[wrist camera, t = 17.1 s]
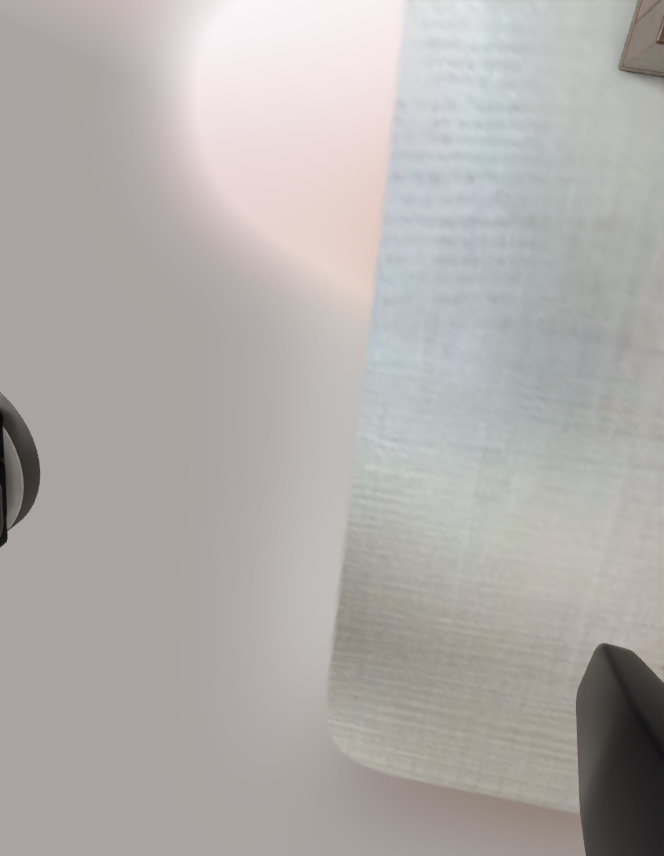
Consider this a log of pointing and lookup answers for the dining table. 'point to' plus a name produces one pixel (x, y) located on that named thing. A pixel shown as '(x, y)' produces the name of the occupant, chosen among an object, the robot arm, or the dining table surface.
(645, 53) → the tray
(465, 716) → the dining table surface
